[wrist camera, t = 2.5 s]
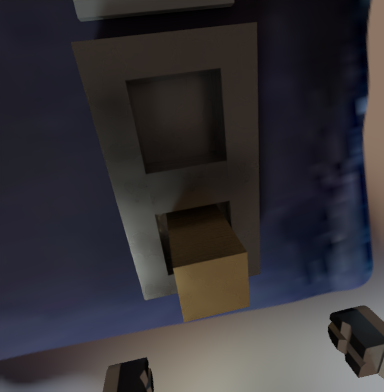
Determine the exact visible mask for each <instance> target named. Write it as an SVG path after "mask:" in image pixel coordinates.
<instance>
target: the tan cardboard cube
mask: <svg viewBox="0 0 384 392" xmlns="http://www.w3.org/2000/svg"><path fill="white" fill-rule="evenodd" d="M166 217H167V225H168V233H169V240H170V248H171V256H172V263H173V270H174V275H175V280H176V285H177V289H178V294H179V299H180V304H181V309H182V314H183V318H184V322H187V321H191V320H195V319H200V318H204V317H208V316H212V315H216V314H220V313H224V312H228V311H232V310H236V309H240V308H245V307H249V282H248V258H247V251H246V250H245V248H244V246H243V245H242V243H241V242H240V240H239V239H238V237H237V236H236V234H235V233H234V231H233V230H232V228H231V227H230V225H229V223H228V222H227V220H226V219H225V217H224V216H223V214H222V213H221V211H220V210H219V208H218V207H217V205H216V204H210V205H204V206H199V207H194V208H189V209H184V210H178V211H173V212H168V213H166Z"/></svg>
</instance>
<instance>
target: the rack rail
mask: <svg viewBox="0 0 384 392" xmlns="http://www.w3.org/2000/svg"><path fill="white" fill-rule="evenodd" d="M71 45H72V48H73V52H74V55H75V59H76V62H77V66H78V69H79V73H80V76H81V80H82V83H83V87H84V90H85V94H86V97H87V100H88V104H89V107H90V111H91V114H92V118H93V121H94V125H95V128H96V132H97V135H98V139H99V142H100V146H101V149H102V152H103V156H104V159H105V163H106V166H107V170H108V173H109V177H110V180H111V184H112V187H113V191H114V194H115V197H116V201H117V204H118V208H119V211H120V215H121V218H122V222H123V225H124V229H125V232H126V236H127V239H128V243H129V246H130V249H131V253H132V256H133V260H134V263H135V267H136V270H137V274H138V277H139V281H140V284H141V288H142V291H143V294H144V298H145V300H149V299H153V298H158V297H162V296H166V295H171V294H175V293H178V289H177V285H176V280H175V275H174V270H173V263H172V256H171V248H170V240H169V233H168V225H167V217H166V213H168V212H173V211H178V210H184V209H189V208H194V207H199V206H204V205H210V204H216V205H217V207H218V208H219V210H220V211H221V213H222V214H223V216H224V217H225V219H226V220H227V222H228V223H229V225H230V227H231V228H232V230H233V231H234V233H235V234H236V236H237V237H238V239H239V240H240V242H241V243H242V245H243V246H244V248H245V250H246V251H247V258H248V277H249V276H253V275H258V274H260V213H259V138H258V63H257V22H253V23H244V24H234V25H225V26H216V27H207V28H198V29H188V30H179V31H170V32H161V33H152V34H142V35H133V36H124V37H115V38H105V39H96V40H87V41H78V42H71Z"/></svg>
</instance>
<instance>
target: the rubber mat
mask: <svg viewBox="0 0 384 392" xmlns="http://www.w3.org/2000/svg"><path fill="white" fill-rule="evenodd" d="M73 1H74V5H75V9H76V13H77V16H78V19H79V20H80V21H81V22H82V21H92V20H102V19H112V18H122V17H132V16H142V15H152V14H162V13H172V12H182V11H192V10H202V9H212V8H222V7H231V6H232V5H233V4H234V0H73Z"/></svg>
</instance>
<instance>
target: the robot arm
mask: <svg viewBox="0 0 384 392" xmlns="http://www.w3.org/2000/svg"><path fill="white" fill-rule="evenodd" d="M330 320H331V321H332V322H331V323H330V325H329V326H328V333H329V337H330V339H331V341H332V343H333V344H334V346H335V347H336V349H337V350H339V351H341V352H342V353H344V354H345V361H346V362H347V363H348V364H349V366H350V367H351V369H352V370H353V371H354V373H355V374H356V375H357V377H358V378H360V377H364V376H369V375H373V374H377V373H379V376H381V377H382V378H384V322H383V321H382V320H381V319H380V318H379V317H378V316H377V315H376V314H375V313H374V312H373V311H372V310H370V308H368V307H367V306H358V307H354V308H349V309H345V310H341V311H337V312H334V313H331V314H330ZM148 365H149V362H148V360H147V357H146V358H141V359H137V360H133V361H128V362H124V363H119V364H115V365H111V366H109V367H108V370H107V373H106V378H105V383H104V388H103V392H154V386H153V376H152V371H151V369H150V368H148Z"/></svg>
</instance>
